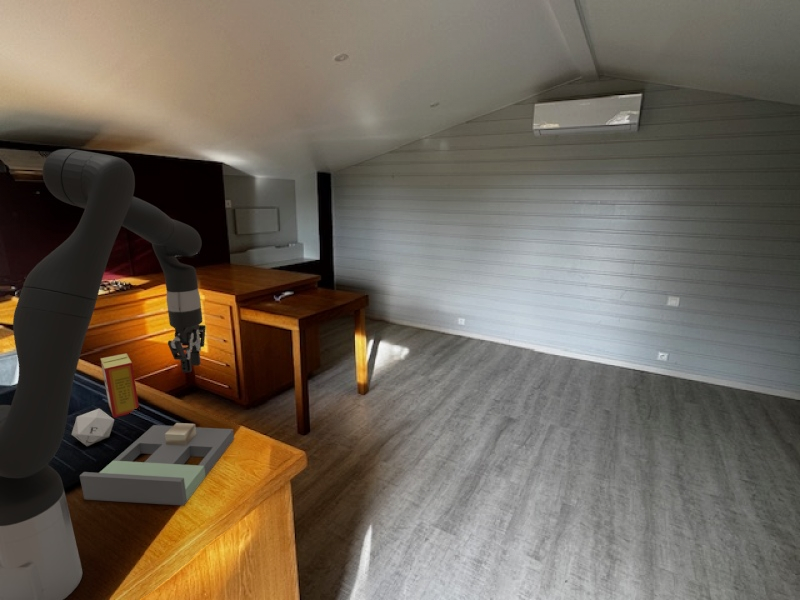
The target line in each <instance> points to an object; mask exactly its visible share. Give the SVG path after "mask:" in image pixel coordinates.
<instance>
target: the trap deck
mask: <svg viewBox="0 0 800 600" xmlns="http://www.w3.org/2000/svg"><path fill="white" fill-rule="evenodd" d="M173 426H174V425H160V424H159V425H158V424H153V425H152V426H150V427H149V429H148V430H146V431H144V433H143V434H142V435H141V436H139V438H137V439H136V440H135V441H133V443H131V444H130V445H129V446H128V447H127V448H125V449H124V451H122V452H121V453H120V454H119V455H118V456H117V457H116V458H114V459H113V460H112V461H111V462H110V463H109V464H106V466H105V467H104V468H103V469H102V470H100V471H99V472H92V471H91V472H89V471H83V472H82V473H81V474H80V475H79V479H80V484H81V485H80V486H81V489H82V495H83V499H84V500H88V501H89V500H91V501H104V502H105V501H106V502H122V503H137V504H138V503H139V504H156V505H170V506H171V505H172V506H185V505H186V503H187V502H188V501H189V499H190V498H191V497H192V495H193V494H194V493H195V491H196V490H197V489H198V487H199V486H200V484H201V483H202V482H203V481H204V479H206V476H207V475H208V474H209V473H210V472H211V471H212V469H213V468H214V466H215V465H216V464H217V462H218V461H219V459H220V458H221V457H222V456H223V455H224V453H225V452H226V451H227V449H228V447H229V446H230V445H231V444H232V442H233V441H234V440H235V435H234V429H233V428H216V427H215V428H214V427H200V426H199V427H197V426H195V427H196V435H195V436H194V437H193V438H192V439H191V440H190V441H189V443H188V444H187V445H186V446H184V445H166V439H165V433H166V432H168V431H169V430H170V429H171V428H172V427H173ZM141 454H144V455H145V454H148V455H150V456H149V457H148V458H147V459H145V461H144V462H143V461H142V462H141V461H134V460H135V459H137V458H138V456H140V455H141ZM191 457H198V458H199V457H200V458H203V459H202V460H201V461H200V462H199V463H198V465H196V464H185V463H186V462H187V461H188V460H189V459H190V458H191Z"/></svg>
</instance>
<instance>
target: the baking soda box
mask: <svg viewBox="0 0 800 600" xmlns="http://www.w3.org/2000/svg"><path fill="white" fill-rule="evenodd" d="M99 359H100V363H101V369H102V376H103V379H104V381H103V382H104V387H105V391H106V397H107V403H108V407H109V410H110V412H111V415H112V418H113V419H115V418H118V417H123V416H126V415H130V414H131V413H130V412H132V411H133V410H134V409H137V408H138V407H139V408H140V405H139V398H138V393H137V386H136V381H135V374H134V368H133V362H132V360H131V359H130V357H129V355H128V353H126V352H125V353H121V354H113V355H109V356H105V357H104V356H103V357H100V358H99ZM129 413H130V414H129Z"/></svg>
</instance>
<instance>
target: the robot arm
mask: <svg viewBox="0 0 800 600" xmlns="http://www.w3.org/2000/svg"><path fill="white" fill-rule="evenodd" d="M135 177H136V176H135V173H134V171H133V168H132V166H131V165H130V163H129V162H127V161H126V160H125V159H124V158H121V157H118V156H113V155H109V154H103V153H99V152H94V151H93V152H92V151H87V150H80V149H72V148H62V149H57V150H55V151H52V152H51V153H49V155H48V156H47V157H46V158H45V160H44V163H43V165H42V178H43V181H44V185H45V186H46V188H47V190H48V191H49V192H50V193H51V194H52V196H53V197H55V198H56V199H57V200H59V201H61V202H64V203H66V204H68V205H72V206H75V207H79V208H81V209H84V211H83V213H82V216H81V218H80V220H79V223H77V226H76V228H75V229H74V230H73V231H72V233H70V235H69V236H68V238H67V239H66V240H64V241H63V242H62V243H61V244H59V245H58V247H56V248H55V249H54V250H52V251H51V252H50V253H49V254H48V255H46V256H45V257H44V258H43V259H42V260H41V261H40V262H38V263H37V264H36V265H35V266H34V267H33V268H32V269H31V270H30V272H29V273H28V274H27V276H26V277H25V280H24V282H23V286H22V288H21V291H20V294H19V297H18V300H17V304H16V307H15V309H14V314H13V317H12V318H13V319H12V328H13V329H12V330H13V338H14V346H15V351H16V355H17V356H16V357H17V362H18V376H17V377H18V378H17V385H16V389H15V391H14V395H13V399H12V401H11V405H10V404H0V600H65V599H66V598H68V597H69V595H71V594H72V593H73V592H74V591H75V589H76V588H77V587H78V586H79V584H80V582H81V580H82V577H83V569H82V568H83V567H82V563H81V559H80V554H79V550H78V545H77V542H76V538H75V537H76V536H75V533H74V527H73V523H72V519H71V515H70V510H69V506H68V501H67V496H66V492H65V488H64V483H63V481H62V477H61V475H60V474H59V472H57V470H55V469H54V468H53V467H51V465H50V464H49V463H50V462H51V461H52V460H53V458H54V457H55V456H56V455H57V452H58V450H59V449H60V446H61V444H62V442H63V438H64V435H65V430H66V426H67V421H68V412H69V407H70V400H71V397H72V396H71V395H72V389H73V384H74V380H75V377H76V376H75V375H76V372H77V368H78V365H79V361H80V357H81V354H82V353H81V352H82V351H83V350H82V349H83V344H84V342H85V339H86V335H87V332H88V329H89V326H90V323H91V320H92V317H93V314H94V311H95V309H96V308H95V307H96V304H97V300H98V297H99V292H100V289H101V285H102V281H103V278H104V274H105V271H106V268H107V266H108V265H107V264H108V262H109V258H110V257H111V253H112V250H113V246H114V244H115V242H116V239H117V237H118V234H119V232H120V230H121V228H122V227H123V228H125V229H127V230H128V231H130V232H133V233H134V234H136V236H138V237H141V238H142V239H144V240H145V241H147V242H148V243H151V245H152V249H153V251H154V254H155V256H156V258H157V260H158V262H159V265H160V267H161V269H162V271H163V274H164V280H165V281H164V282H165V289H166V305H167V314H168V322H169V325H170V326H171V327H172V328H173V329H175V330H174V332H175V333H174V338H173V340H168V341H167V345H168V348H169V350H170V352H171V355H172V357H173V360H176V361H178V360H180V366H181V370H182V371H181V372H183V373H187V374H188V373H191V372H192V370H193V369H192V366H195V367H196V366H197V367H198V366H200V365H201V364H202V363H201V353H200V352H201V350H202V348H204V346H205V341H206V340H205V339H206V337H205V336H206V328H207V327H206V325H205V324H202V323H203V313H202V306H201V305H202V304H201V303H202V302H201V295H200V291H199V285H198V276H197V270H196V268H195V267H194V266H192V265H189V264H185V263H182V262H180V261H179V259H178V258H177V257H192V256H195V255H197V254H198V253H199V252H200V251H201V248H202V244H203V243H202V238H201V235H200V234H199V231H197V230H196V229H195V228H194V227H192V226H190V225H189V224H186V223H184V222H182V221H179V220H176V219H173V218H171V217H170V216H169V215H167V214H166V213H165V212H163V211H162V210H161V209H160V208H158V207H157V206H155V205H153V204H151V203H149V202H147V201H145V200H143V199H141V198H139V197H136V196H135V195H134V194H135V188H136V178H135Z"/></svg>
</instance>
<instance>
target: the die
mask: <svg viewBox="0 0 800 600" xmlns="http://www.w3.org/2000/svg"><path fill="white" fill-rule="evenodd" d="M114 422H115V418H113V417H111V415H109V414H107V413H106V412H105V411H103V410H102V409H101V408H96V409H94V410H91V411H87V412H86V413H83V414H80V415H77V416H76V417H75V423H74V425H73V427H72V431H71V436H73V437H74V438H75V439H77V440H78V441H79V442H81V443H82V444H83V445H85V446H86V447H89V446H91V445H94V444H95V443H98V442H101V441H103V440H105V439H108V438H110V435H111V432H112V429H113V426H114Z"/></svg>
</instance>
